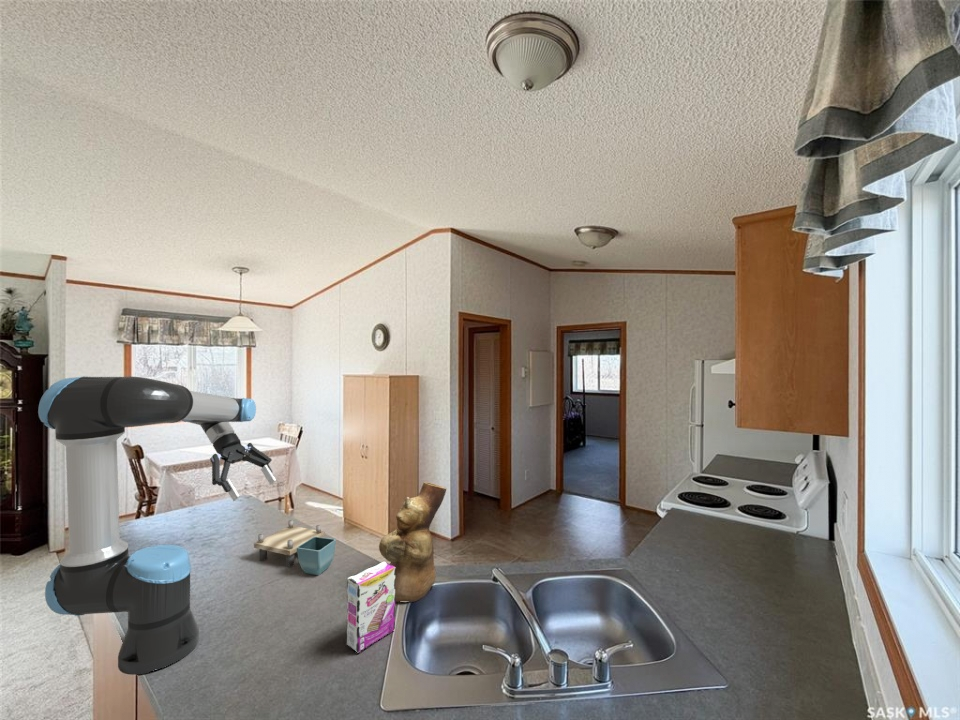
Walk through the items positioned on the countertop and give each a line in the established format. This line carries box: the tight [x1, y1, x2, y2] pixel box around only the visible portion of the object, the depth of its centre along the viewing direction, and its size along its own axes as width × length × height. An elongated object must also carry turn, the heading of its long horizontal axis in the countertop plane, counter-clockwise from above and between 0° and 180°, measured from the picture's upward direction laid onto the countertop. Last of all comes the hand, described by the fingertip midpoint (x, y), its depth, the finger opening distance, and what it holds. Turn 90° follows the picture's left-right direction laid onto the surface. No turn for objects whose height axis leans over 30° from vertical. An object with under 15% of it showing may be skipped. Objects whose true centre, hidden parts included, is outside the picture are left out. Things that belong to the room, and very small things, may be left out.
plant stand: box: [253, 519, 326, 568], centre depth 146 cm, size 16×16×8 cm
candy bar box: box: [346, 561, 396, 653], centre depth 102 cm, size 11×5×16 cm, turn 141°
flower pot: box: [296, 537, 337, 576], centre depth 135 cm, size 9×9×9 cm
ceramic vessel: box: [378, 481, 447, 604], centre depth 126 cm, size 16×22×30 cm
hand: (255, 490), depth 138 cm, fingers open, 13 cm apart
